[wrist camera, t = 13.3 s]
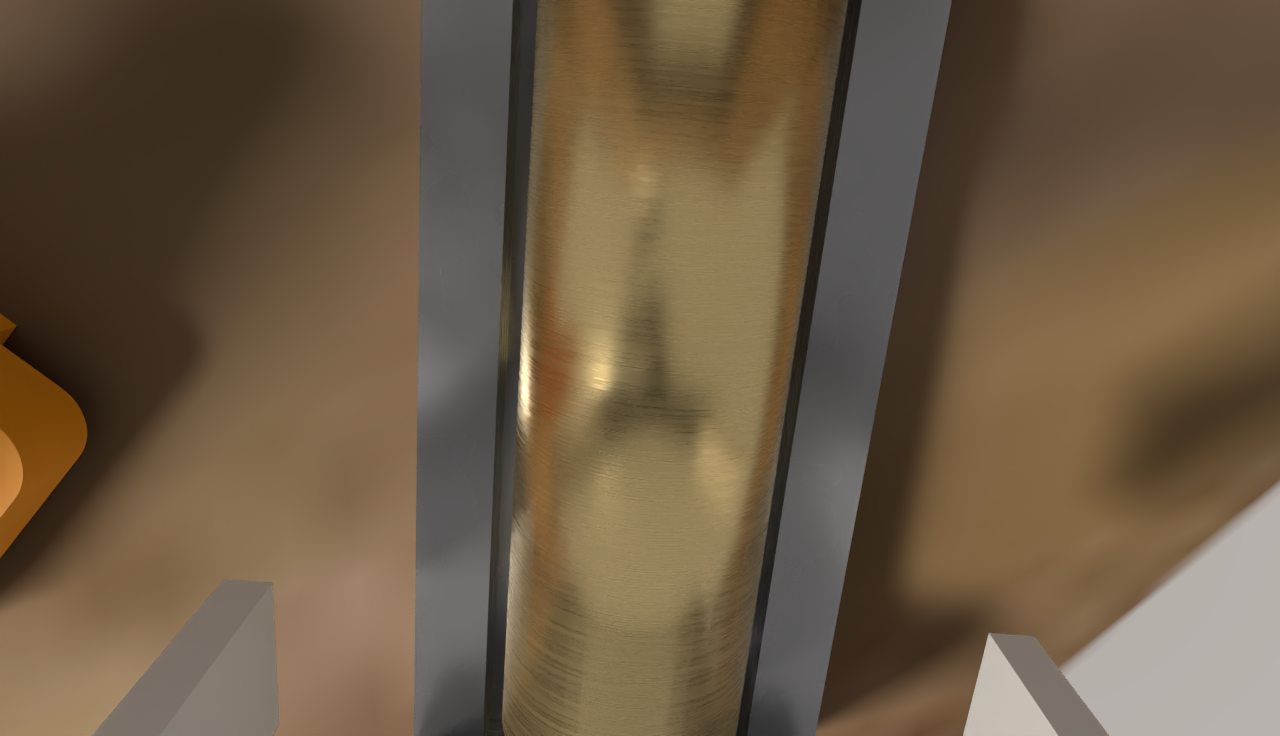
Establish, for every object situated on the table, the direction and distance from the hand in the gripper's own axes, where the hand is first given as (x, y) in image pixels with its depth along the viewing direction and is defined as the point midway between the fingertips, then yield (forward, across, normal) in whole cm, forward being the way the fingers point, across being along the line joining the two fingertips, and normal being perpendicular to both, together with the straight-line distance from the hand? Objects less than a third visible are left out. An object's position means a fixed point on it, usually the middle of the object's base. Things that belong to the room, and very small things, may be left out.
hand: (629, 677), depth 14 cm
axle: (+4, 0, +5) cm, 6 cm away
